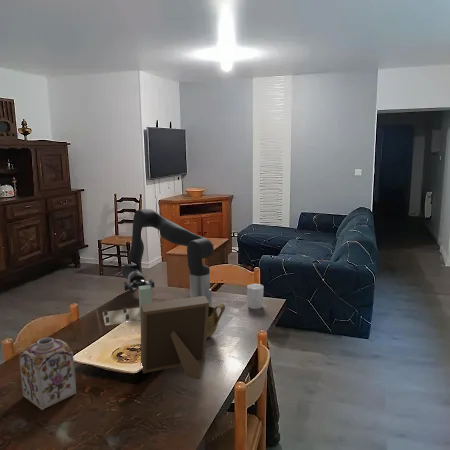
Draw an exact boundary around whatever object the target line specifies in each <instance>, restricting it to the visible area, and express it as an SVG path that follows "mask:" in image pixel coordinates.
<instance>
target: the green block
mask: <svg viewBox="0 0 450 450" xmlns="http://www.w3.org/2000/svg"><path fill="white" fill-rule="evenodd" d="M138 287H139V289H138V303H139V305H138V307H139V308H140V313H141V304H148V303H153V291H152V290H153V288H151V287H150V285H146V286H138Z"/></svg>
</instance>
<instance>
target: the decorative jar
mask: <svg viewBox="0 0 450 450" xmlns="http://www.w3.org/2000/svg"><path fill="white" fill-rule="evenodd" d="M19 370H20V379H21V381H20V382H21V387H22V388H21V389H22V395H23V397H24V398H25V399H26V400H28V401H29V402H30V403H32V404H33V405H34V406H36V407H38V408H39V410H41V411H43V410H45V409H47V408H49V407H51V406H53V405H55V404H58V403H60V402H61V401H63V400H66V399H67V398H69V397H70V398H71V397H72V396H73V395H74V396H75V394H77V385H76V384H77V383H76V371H75V370H76V369H75V362H74V352H73V351H72V348H71V347H70V346H69V345H68V343H67V342H65V341H63V340H61V339H58V338H57V339H54V338H53V337H43V338H40V339H38V340H37V342H35V343H32V344H30V345H29V346H28V347H27V348H26V349H24V351H23V352H22V353H21V354H20V356H19Z"/></svg>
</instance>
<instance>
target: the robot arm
mask: <svg viewBox="0 0 450 450" xmlns="http://www.w3.org/2000/svg"><path fill="white" fill-rule="evenodd" d="M132 220H133V221H132V230H131V231H132V236H131V245H130V249H129V254H128V261H129V262H130V263H132V264H130V263H127V264H124V265H123V266H122V268H121V274H122V276H123V278H125V279H126V280H128V282H126V281H124V282H123V287H124V291H129V292H130V293H134V290H139V287H138V286H146V285H150V287H151V288H152V289H153V288H155V281H154V280H153V279H151V278H150V279H149V280H146V279H145V277H144V274H142V273H143V270H142V268H143V267H142V261H143V260H142V259H143V255H144V251H145V246H144V242H143V239H142V230H143V228H149V227H150V228H154V229H156V230H158V232H159V234H160V236H161V237H162V239H165V240H166V241H168V242H169V243H171V244H175V245H178V246H184V247H186V257H187V267H188V270H189V293H190V294H189V295H190V297H189V298H192V297H199V296H205V297H206V298H207V300H208V302H209V306H212V304H213V303H212V302H213V301H212V289H211V282H210V281H211V276H210V275H211V274H210V270H211V269H210V267H209V266H208V265H206V264H203V260H204V259H206V258H208V257H210V256H212V255H213V253H214V251H215V248H214V244H213V242H211V240H210V239H208V238H206V237H204V236H201V235H198V234H197V233H193V232H191V231H190V230H188V229H186V228H184V227H183V226H181V225H179V224H177V223H176V222H173V221H171V220H170V219H167V218H165V217H163V216H162V215H161V214H159V213H158V212H156V211H155V210H153V209H148V208H146V209H138V210H136V211H135V212H134V215H133V219H132ZM212 307H213V306H212Z"/></svg>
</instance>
